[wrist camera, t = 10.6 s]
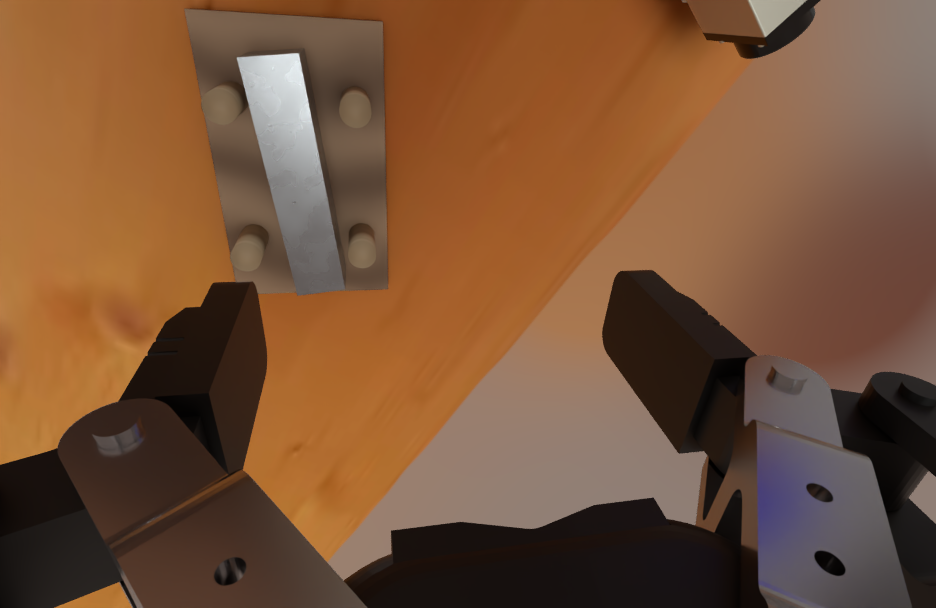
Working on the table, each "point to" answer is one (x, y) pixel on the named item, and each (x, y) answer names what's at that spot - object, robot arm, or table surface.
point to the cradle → (341, 125)
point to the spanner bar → (295, 166)
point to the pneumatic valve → (753, 22)
